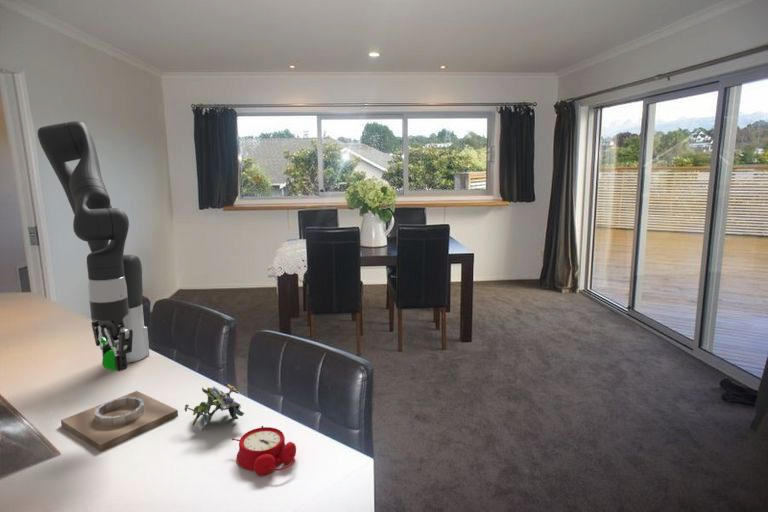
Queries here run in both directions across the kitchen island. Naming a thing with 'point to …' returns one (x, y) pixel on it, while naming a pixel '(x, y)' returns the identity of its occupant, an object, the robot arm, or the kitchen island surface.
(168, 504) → the kitchen island surface
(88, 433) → the walnut board
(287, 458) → the alarm clock
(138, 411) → the steel ring
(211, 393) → the grey green plastic figure
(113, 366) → the polyhedron
